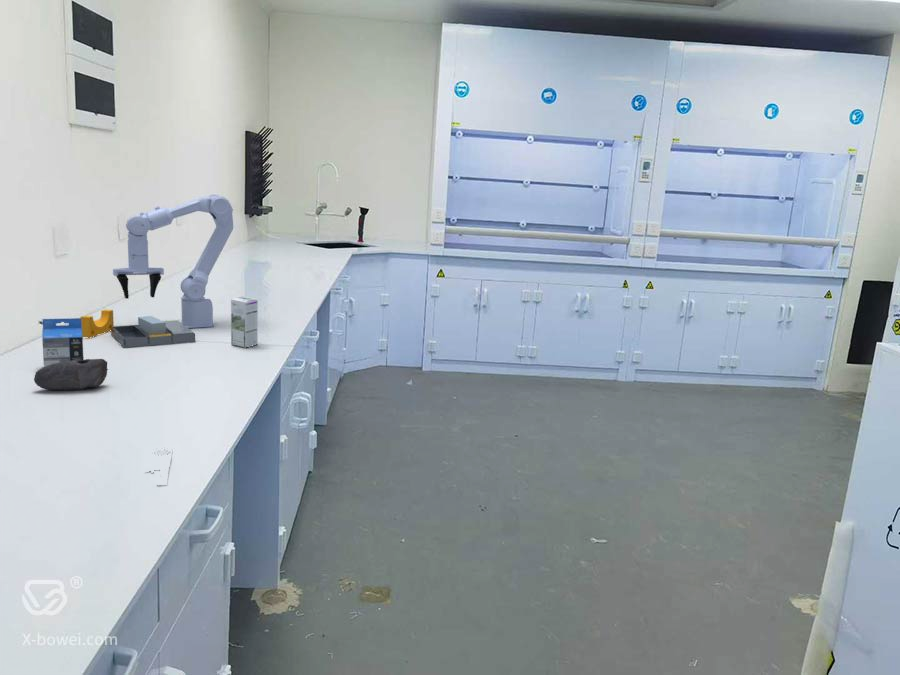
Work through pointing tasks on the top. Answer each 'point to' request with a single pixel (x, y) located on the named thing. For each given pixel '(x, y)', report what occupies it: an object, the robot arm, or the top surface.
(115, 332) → the grey compartment tray
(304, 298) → the top surface
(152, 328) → the tall blue-grey block
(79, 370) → the perforated stone tool
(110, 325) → the pipe clamp
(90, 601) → the top surface
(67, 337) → the ink cartridge box
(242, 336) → the syrup box
